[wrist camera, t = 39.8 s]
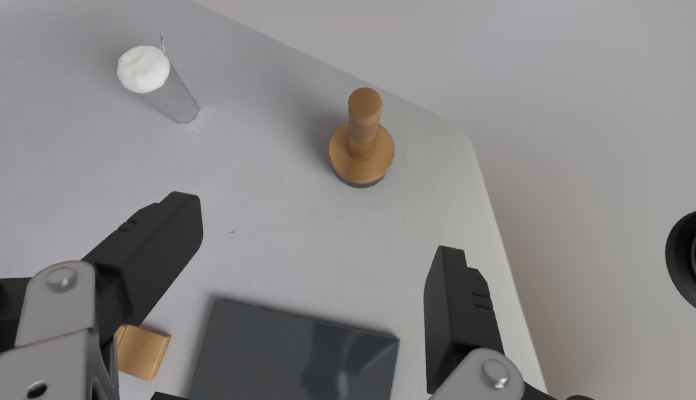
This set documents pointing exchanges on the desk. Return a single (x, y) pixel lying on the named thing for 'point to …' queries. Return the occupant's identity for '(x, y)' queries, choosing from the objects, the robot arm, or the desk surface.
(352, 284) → the desk surface
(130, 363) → the chip
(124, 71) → the milkshake
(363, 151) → the brush
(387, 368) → the tile
